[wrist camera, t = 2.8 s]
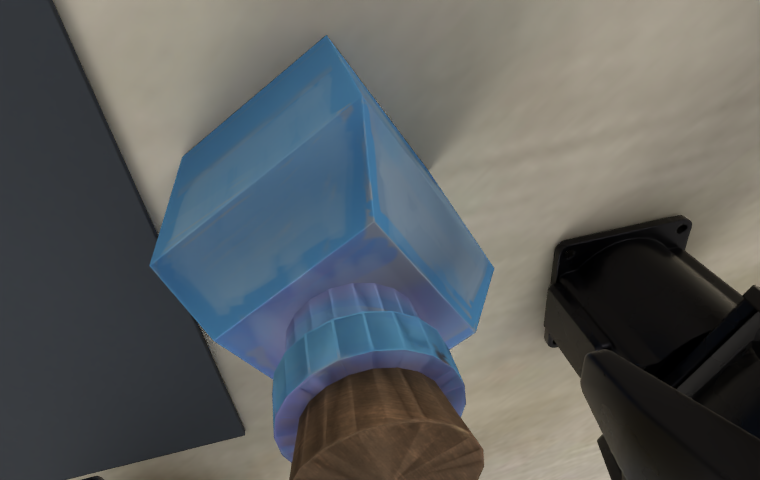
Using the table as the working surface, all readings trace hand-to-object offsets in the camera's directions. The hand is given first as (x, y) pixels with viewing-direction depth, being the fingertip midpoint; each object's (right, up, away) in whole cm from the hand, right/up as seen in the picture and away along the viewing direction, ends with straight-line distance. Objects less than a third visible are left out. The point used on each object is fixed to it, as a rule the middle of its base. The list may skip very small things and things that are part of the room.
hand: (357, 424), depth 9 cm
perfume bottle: (-2, +6, +9) cm, 11 cm away
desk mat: (-13, +1, +9) cm, 16 cm away
